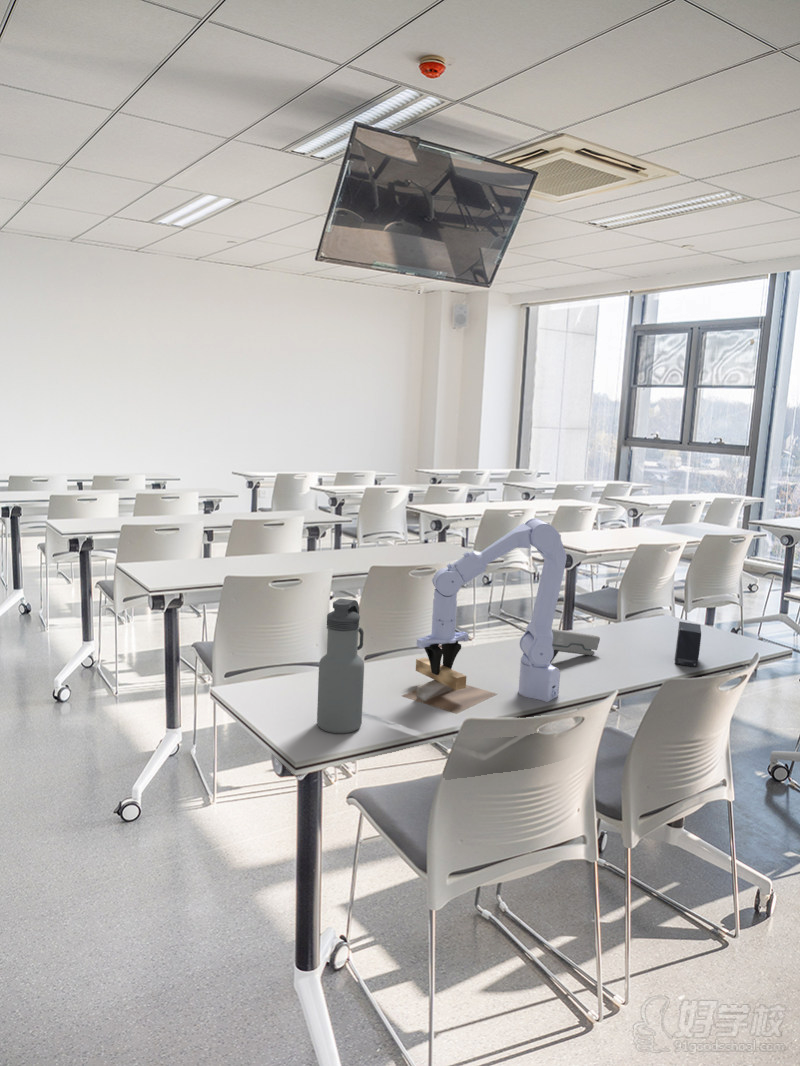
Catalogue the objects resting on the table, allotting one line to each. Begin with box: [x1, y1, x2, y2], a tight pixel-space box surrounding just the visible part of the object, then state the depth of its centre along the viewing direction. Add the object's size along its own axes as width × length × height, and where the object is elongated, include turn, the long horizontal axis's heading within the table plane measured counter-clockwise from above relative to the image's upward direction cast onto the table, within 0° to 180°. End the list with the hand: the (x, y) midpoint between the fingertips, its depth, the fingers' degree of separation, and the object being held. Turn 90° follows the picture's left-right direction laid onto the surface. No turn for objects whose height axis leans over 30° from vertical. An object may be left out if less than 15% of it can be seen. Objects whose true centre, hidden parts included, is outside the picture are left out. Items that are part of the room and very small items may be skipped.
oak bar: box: [415, 657, 467, 690], centre depth 198 cm, size 16×3×3 cm, turn 36°
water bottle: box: [316, 598, 365, 734], centre depth 175 cm, size 10×10×28 cm
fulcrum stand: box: [401, 672, 498, 714], centre depth 197 cm, size 16×18×4 cm
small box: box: [674, 621, 702, 668], centre depth 237 cm, size 11×6×10 cm, turn 161°
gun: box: [550, 628, 601, 664], centre depth 233 cm, size 2×25×10 cm, turn 125°
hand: (440, 672), depth 198 cm, fingers closed on oak bar, 3 cm apart
